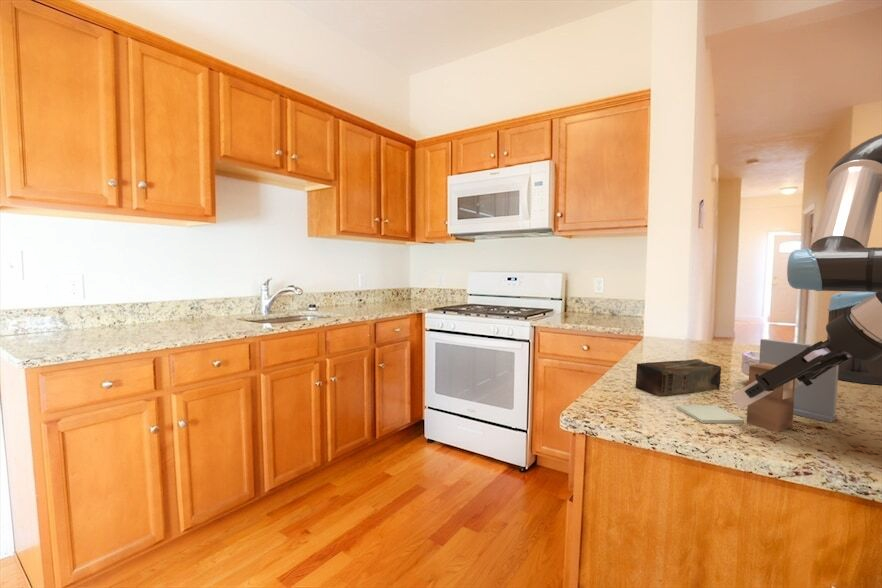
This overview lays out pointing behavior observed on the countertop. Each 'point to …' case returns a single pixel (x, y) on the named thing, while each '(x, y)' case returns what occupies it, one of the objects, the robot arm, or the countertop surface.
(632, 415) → the countertop surface
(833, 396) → the slate panel
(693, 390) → the beverage carton
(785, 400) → the brown tall rectangular block
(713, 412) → the sage tile
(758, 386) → the robot arm
